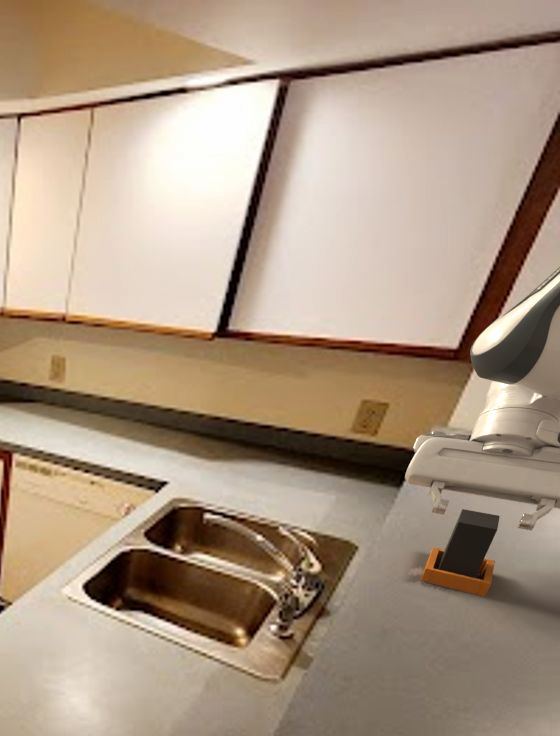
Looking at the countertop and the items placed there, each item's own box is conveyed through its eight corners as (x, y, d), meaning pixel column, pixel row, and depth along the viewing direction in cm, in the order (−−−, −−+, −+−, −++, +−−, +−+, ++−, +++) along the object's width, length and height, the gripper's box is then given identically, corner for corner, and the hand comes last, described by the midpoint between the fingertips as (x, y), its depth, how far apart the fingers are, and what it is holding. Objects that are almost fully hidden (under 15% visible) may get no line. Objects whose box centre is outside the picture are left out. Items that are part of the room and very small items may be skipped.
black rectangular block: (472, 575, 94) (499, 515, 90) (469, 591, 90) (497, 529, 86) (437, 567, 97) (462, 508, 92) (433, 582, 93) (458, 521, 89)
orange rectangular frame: (490, 580, 95) (500, 559, 93) (484, 610, 88) (495, 587, 86) (421, 564, 100) (429, 544, 98) (411, 591, 93) (420, 569, 92)
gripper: (423, 419, 99) (393, 494, 97) (619, 440, 85) (588, 528, 83) (417, 439, 103) (388, 511, 102) (602, 463, 90) (572, 546, 88)
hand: (480, 519), depth 92 cm, fingers open, 8 cm apart
